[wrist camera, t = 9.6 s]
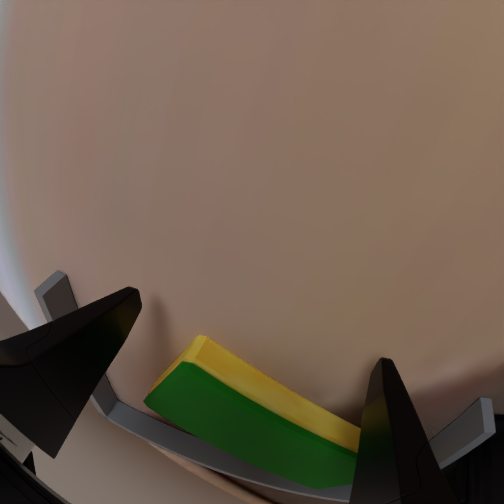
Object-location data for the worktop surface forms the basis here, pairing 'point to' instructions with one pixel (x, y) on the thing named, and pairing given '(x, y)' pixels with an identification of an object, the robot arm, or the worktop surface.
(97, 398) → the box
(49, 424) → the robot arm
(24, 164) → the worktop surface
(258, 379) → the dish sponge
